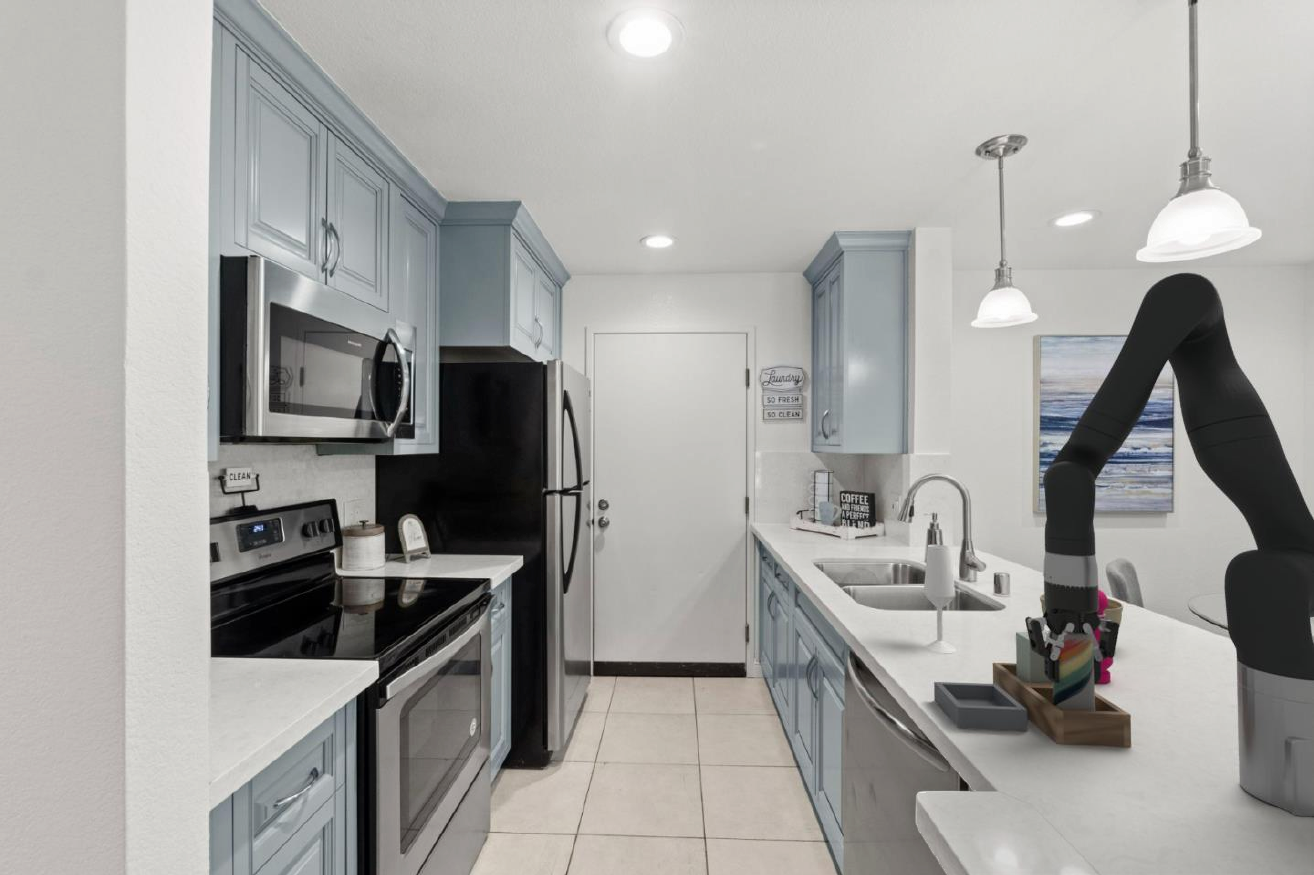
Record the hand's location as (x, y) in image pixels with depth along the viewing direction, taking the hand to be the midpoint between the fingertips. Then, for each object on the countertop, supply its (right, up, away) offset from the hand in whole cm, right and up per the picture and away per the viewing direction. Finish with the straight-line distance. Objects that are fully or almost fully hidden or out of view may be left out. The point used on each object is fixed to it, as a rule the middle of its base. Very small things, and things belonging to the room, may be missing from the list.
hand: (1072, 681), depth 100 cm
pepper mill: (+19, -9, +22) cm, 31 cm away
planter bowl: (+31, -9, +42) cm, 53 cm away
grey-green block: (+1, -8, +11) cm, 14 cm away
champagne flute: (-3, -9, +41) cm, 42 cm away
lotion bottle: (0, -7, 0) cm, 7 cm away
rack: (+1, -8, +6) cm, 10 cm away
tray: (-13, -8, +5) cm, 16 cm away
